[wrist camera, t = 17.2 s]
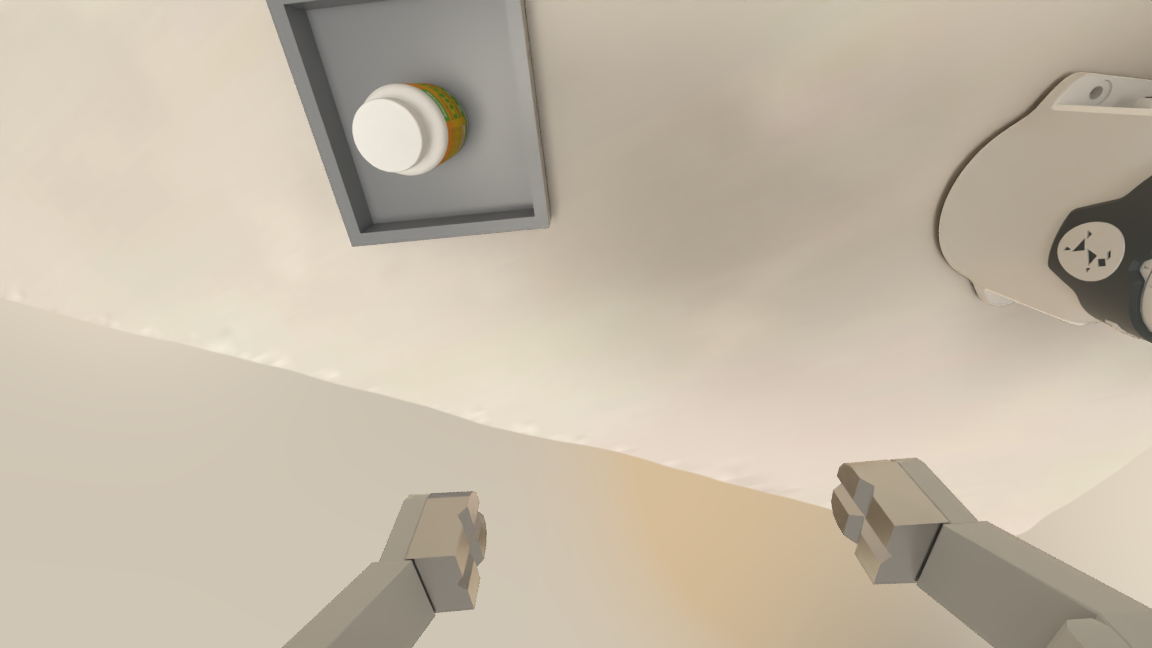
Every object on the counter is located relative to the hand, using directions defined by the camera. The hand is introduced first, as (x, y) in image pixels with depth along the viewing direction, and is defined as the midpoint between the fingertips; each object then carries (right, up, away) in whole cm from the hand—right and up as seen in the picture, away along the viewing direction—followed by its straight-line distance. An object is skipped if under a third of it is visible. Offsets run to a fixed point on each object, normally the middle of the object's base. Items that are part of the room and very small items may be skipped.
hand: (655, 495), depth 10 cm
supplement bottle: (-13, +19, +24) cm, 33 cm away
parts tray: (-13, +20, +25) cm, 34 cm away
